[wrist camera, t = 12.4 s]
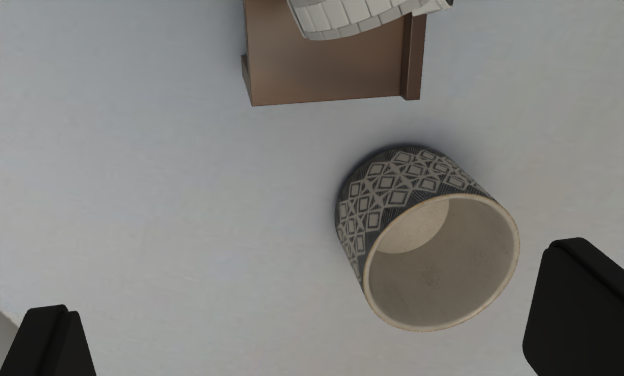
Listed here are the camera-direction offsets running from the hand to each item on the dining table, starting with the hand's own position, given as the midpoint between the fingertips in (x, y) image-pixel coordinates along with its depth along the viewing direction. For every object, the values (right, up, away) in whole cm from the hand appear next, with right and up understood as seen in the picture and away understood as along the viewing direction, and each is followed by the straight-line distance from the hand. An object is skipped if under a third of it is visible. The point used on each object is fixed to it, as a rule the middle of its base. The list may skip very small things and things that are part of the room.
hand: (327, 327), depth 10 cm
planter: (+8, +1, +38) cm, 39 cm away
